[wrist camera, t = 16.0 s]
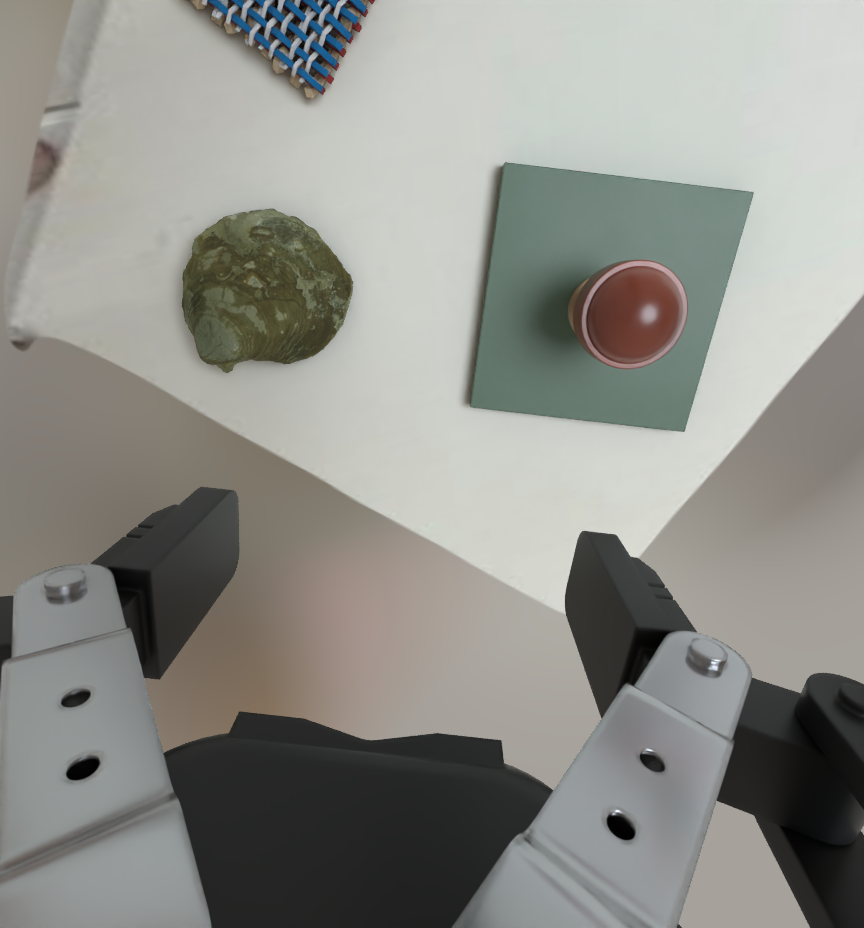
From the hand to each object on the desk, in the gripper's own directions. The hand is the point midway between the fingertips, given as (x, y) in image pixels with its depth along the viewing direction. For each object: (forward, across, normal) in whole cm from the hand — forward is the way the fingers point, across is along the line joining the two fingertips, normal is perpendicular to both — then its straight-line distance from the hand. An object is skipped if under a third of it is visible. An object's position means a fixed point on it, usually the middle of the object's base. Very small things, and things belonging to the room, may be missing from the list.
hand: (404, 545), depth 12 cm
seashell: (+28, +12, -3) cm, 31 cm away
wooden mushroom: (+27, -11, -5) cm, 29 cm away
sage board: (+28, -11, -5) cm, 31 cm away
